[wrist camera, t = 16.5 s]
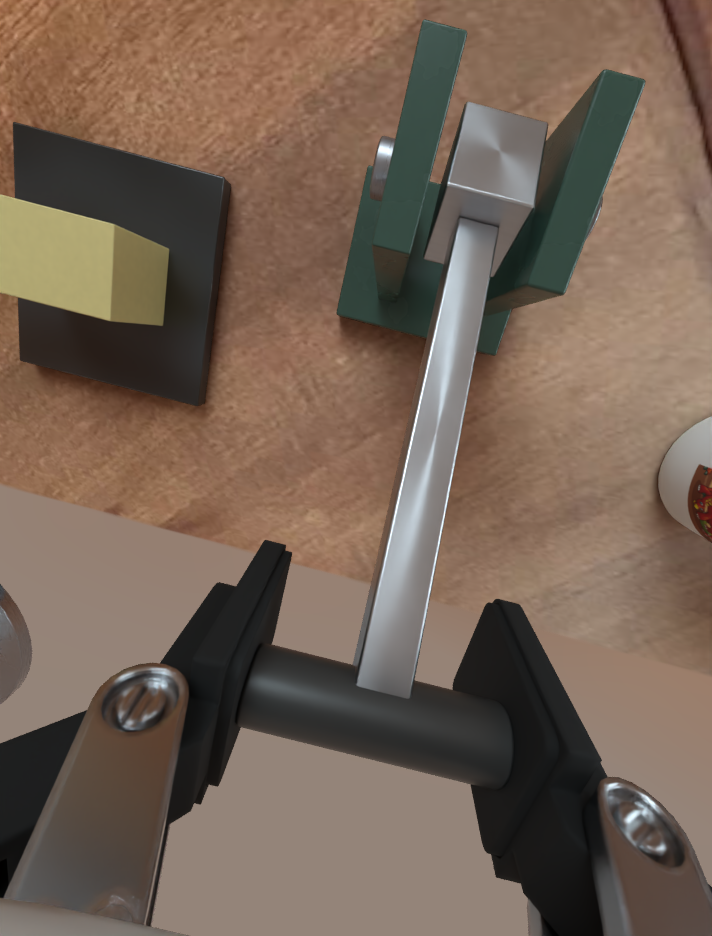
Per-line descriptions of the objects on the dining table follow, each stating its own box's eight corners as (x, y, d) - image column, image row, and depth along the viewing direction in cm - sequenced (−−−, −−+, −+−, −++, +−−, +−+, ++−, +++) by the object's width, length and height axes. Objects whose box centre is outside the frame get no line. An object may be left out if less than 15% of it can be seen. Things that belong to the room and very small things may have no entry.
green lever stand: (490, 355, 22) (619, 368, 10) (338, 315, 22) (283, 280, 10) (536, 219, 20) (773, 24, 8) (368, 174, 20) (346, -91, 8)
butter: (163, 326, 22) (110, 321, 18) (60, 299, 22) (-18, 288, 18) (169, 249, 21) (114, 224, 16) (60, 220, 21) (-24, 188, 16)
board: (204, 404, 24) (197, 406, 23) (33, 360, 24) (19, 360, 23) (231, 184, 21) (224, 176, 20) (29, 131, 20) (12, 120, 19)
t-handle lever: (469, 755, 9) (522, 828, 6) (249, 700, 8) (219, 753, 6) (550, 216, 12) (602, 135, 10) (396, 176, 12) (412, 85, 10)
